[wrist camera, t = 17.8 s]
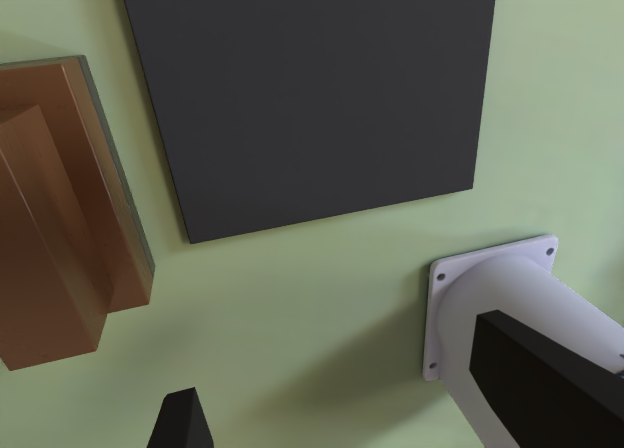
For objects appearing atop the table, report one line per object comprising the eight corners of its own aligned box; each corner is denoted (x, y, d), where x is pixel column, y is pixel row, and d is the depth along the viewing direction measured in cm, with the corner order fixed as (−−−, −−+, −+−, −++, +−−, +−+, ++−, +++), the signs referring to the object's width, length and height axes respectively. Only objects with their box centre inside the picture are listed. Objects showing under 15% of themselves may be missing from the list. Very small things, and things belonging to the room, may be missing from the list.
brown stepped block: (155, 266, 18) (139, 366, 13) (49, 288, 18) (-13, 403, 12) (85, 54, 14) (20, 79, 9) (-61, 70, 13) (-226, 108, 8)
